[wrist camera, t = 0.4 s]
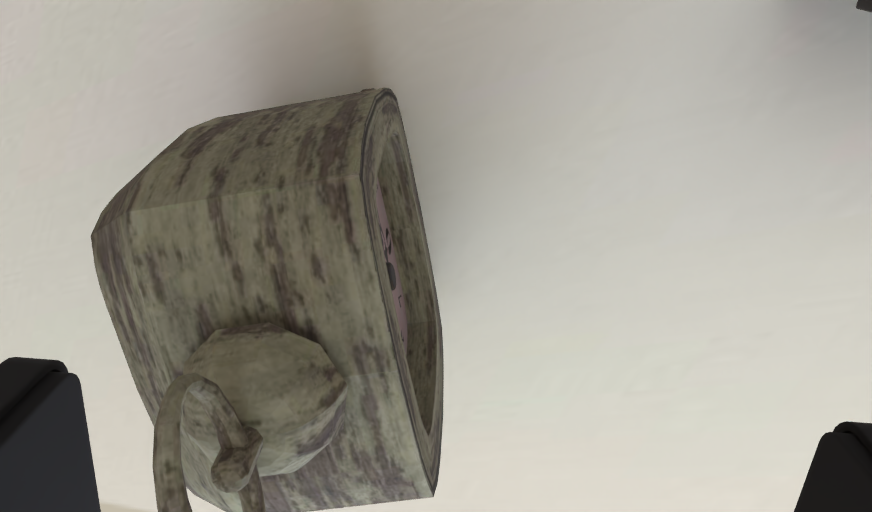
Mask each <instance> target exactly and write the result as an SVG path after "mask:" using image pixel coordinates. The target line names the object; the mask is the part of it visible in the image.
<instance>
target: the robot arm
mask: <svg viewBox="0 0 872 512" xmlns="http://www.w3.org/2000/svg"><path fill="white" fill-rule="evenodd" d="M0 512H101V510H100V504H99V498H98V491H97V485H96V479H95V472H94V466H93V460H92V453H91V447H90V441H89V434H88V428H87V422H86V415H85V409H84V403H83V396H82V390H81V384H80V380H79V378H78V377H77V375H75V374H73V373H68V370H67V368H66V366H65V365H64V363H63V362H60V361H58V360H47V359H34V358H21V357H12V358H8V359H7V360H5V361H3V362H2V363H1V364H0ZM794 512H872V423H859V422H843V423H840V424H839V425H838V426H836V427H835V429H834V431H833V432H828V433H825V434H824V435H823V436H822V438H821V439H820V441H819V444H818V447H817V449H816V452H815V455H814V458H813V461H812V463H811V466H810V469H809V472H808V474H807V477H806V480H805V483H804V485H803V488H802V491H801V494H800V497H799V499H798V502H797V505H796V508H795V510H794Z"/></svg>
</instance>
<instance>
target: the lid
mask: <svg viewBox="0 0 872 512" xmlns="http://www.w3.org/2000/svg"><path fill="white" fill-rule="evenodd" d="M856 8H857V9H860V10H864V11H869V12H872V0H858V2H857V5H856Z"/></svg>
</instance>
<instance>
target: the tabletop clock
mask: <svg viewBox="0 0 872 512" xmlns="http://www.w3.org/2000/svg"><path fill="white" fill-rule="evenodd" d="M91 240H92V248H93V256H94V263H95V268H96V272H97V277H98V281H99V285H100V288H101V291H102V294H103V297H104V300H105V303H106V306H107V309H108V312H109V314H110V317H111V320H112V322H113V325H114V328H115V331H116V333H117V336H118V339H119V341H120V344H121V347H122V350H123V352H124V355H125V358H126V360H127V363H128V366H129V368H130V371H131V374H132V377H133V379H134V382H135V385H136V387H137V390H138V392H139V394H140V397H141V399H142V401H143V403H144V405H145V408H146V410H147V412H148V414H149V416H150V419H151V421H152V423H153V425H154V447H153V474H154V483H155V492H156V501H157V509H158V512H192V509H191V506H190V503H189V500H188V496H187V491H186V487H187V488H188V489H189V490H190V491H191V492H192V493H193V494H194V495H196V496H198V497H200V498H202V499H203V500H205V501H207V502H209V503H211V504H213V505H215V506H216V507H218V508H220V509H222V510H224V511H226V512H308V511H317V510H325V509H334V508H343V507H351V506H360V505H369V504H377V503H386V502H394V501H403V500H412V499H420V498H429V497H434V493H435V490H436V486H437V482H438V475H439V466H440V454H441V439H442V424H443V340H442V326H441V320H440V313H439V306H438V300H437V294H436V288H435V282H434V277H433V272H432V266H431V261H430V255H429V250H428V245H427V240H426V234H425V229H424V224H423V218H422V213H421V208H420V203H419V198H418V193H417V189H416V184H415V179H414V174H413V169H412V164H411V159H410V155H409V150H408V145H407V140H406V136H405V131H404V127H403V123H402V118H401V115H400V111H399V107H398V103H397V99H396V96H395V95H394V93H393V92H392V90H391V89H389V88H382V89H365V90H362V91H361V92H359V93H354V94H348V95H342V96H337V97H331V98H325V99H320V100H314V101H308V102H303V103H297V104H291V105H285V106H280V107H274V108H268V109H263V110H257V111H251V112H246V113H240V114H234V115H229V116H223V117H217V118H214V119H212V120H209V121H207V122H204V123H202V124H199V125H197V126H194V127H191V128H189V129H187V130H186V131H185V132H184V133H183V134H182V135H180V136H179V137H178V138H177V139H176V140H175V141H174V142H173V143H171V144H170V145H169V146H168V147H167V148H166V149H165V150H163V151H162V152H161V153H160V154H159V155H158V156H157V157H156V158H154V159H153V160H152V161H151V162H150V163H149V164H148V165H147V166H146V167H145V168H144V169H143V170H142V171H140V172H139V173H138V174H137V175H136V176H135V177H134V178H133V179H132V180H131V181H130V182H129V183H128V184H126V185H125V186H124V187H123V188H122V189H121V190H120V191H119V192H118V193H117V194H116V195H115V196H114V197H113V199H112V200H111V201H110V202H109V203H108V205H107V206H106V207H105V209H104V210H103V211H102V213H101V215H100V217H99V219H98V221H97V223H96V226H95V228H94V230H93V232H92V234H91Z"/></svg>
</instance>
